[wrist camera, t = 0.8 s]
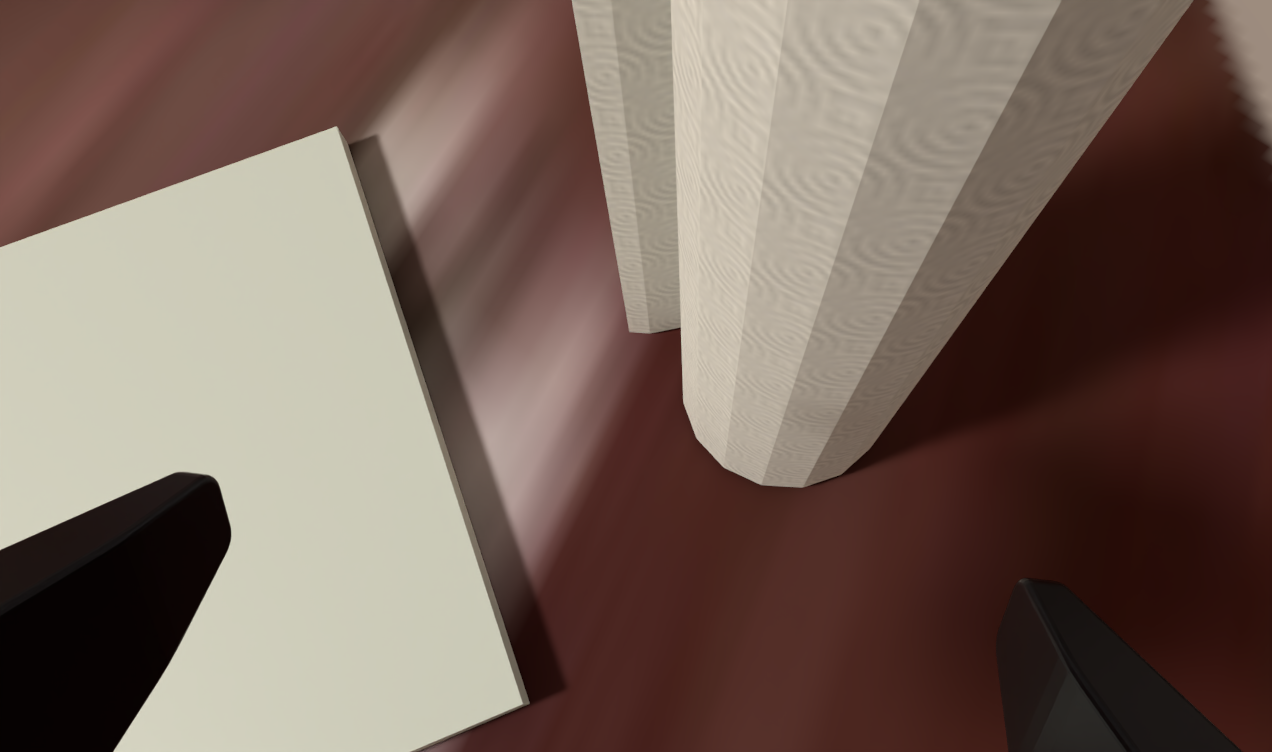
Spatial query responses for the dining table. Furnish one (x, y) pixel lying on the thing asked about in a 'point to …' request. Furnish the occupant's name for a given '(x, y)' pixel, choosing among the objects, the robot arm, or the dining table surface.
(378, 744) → the sage board
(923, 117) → the paper towel roll
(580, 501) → the dining table surface
